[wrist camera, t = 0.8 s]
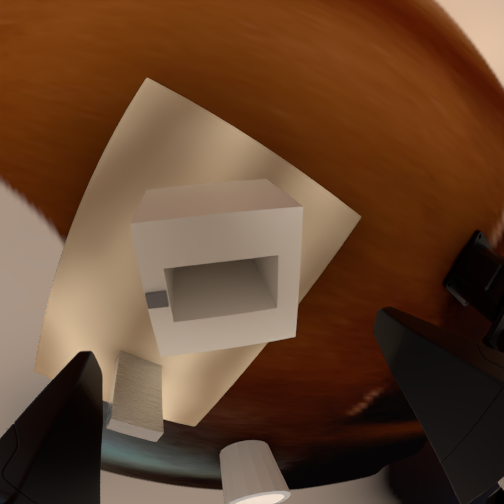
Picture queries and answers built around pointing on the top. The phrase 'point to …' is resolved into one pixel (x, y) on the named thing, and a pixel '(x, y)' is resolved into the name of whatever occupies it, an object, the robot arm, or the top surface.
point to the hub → (219, 264)
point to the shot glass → (251, 474)
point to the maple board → (124, 257)
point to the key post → (136, 398)
